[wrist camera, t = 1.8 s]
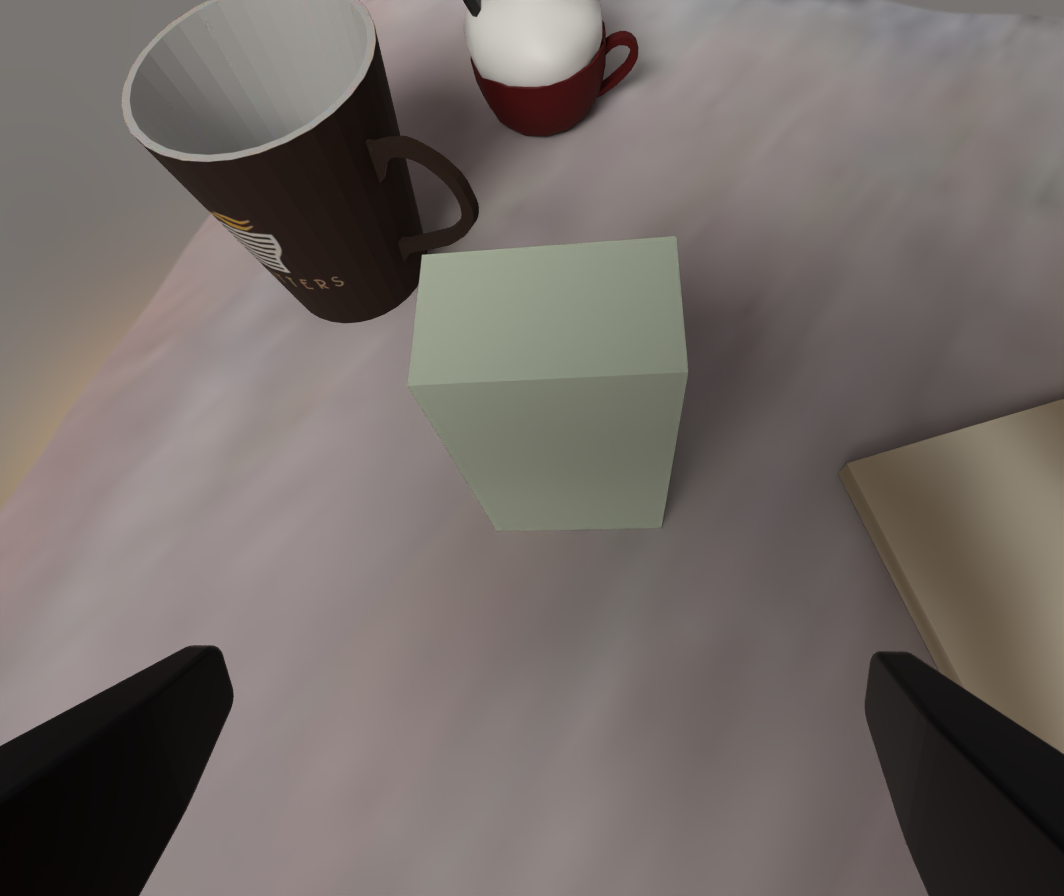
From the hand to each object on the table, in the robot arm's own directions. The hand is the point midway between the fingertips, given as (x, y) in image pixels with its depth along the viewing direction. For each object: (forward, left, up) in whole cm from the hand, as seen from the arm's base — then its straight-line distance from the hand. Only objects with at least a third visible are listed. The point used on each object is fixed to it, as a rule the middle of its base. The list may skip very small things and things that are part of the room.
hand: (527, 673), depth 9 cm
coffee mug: (-4, +20, -14) cm, 24 cm away
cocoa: (+6, +28, -14) cm, 32 cm away
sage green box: (+2, +8, -14) cm, 16 cm away
